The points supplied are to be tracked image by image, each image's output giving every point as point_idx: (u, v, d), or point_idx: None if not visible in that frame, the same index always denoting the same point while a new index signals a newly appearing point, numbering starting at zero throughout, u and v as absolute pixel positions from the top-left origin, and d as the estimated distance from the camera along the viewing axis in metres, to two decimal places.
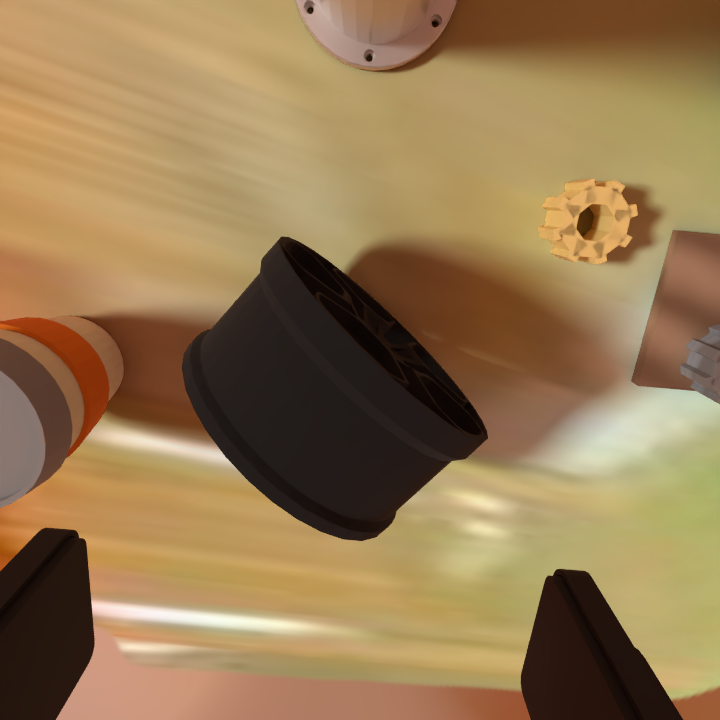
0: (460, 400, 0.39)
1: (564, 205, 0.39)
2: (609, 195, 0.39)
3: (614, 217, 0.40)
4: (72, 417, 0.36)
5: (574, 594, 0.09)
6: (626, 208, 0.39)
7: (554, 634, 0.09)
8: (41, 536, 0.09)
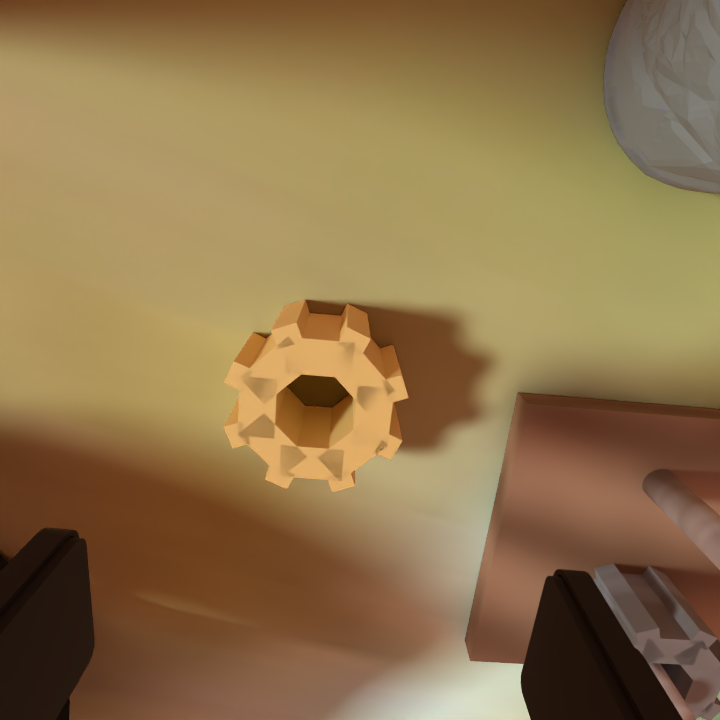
0: None
1: (237, 378, 0.17)
2: (338, 358, 0.17)
3: (357, 401, 0.18)
4: None
5: (574, 594, 0.09)
6: (380, 384, 0.17)
7: (554, 634, 0.09)
8: (41, 536, 0.09)
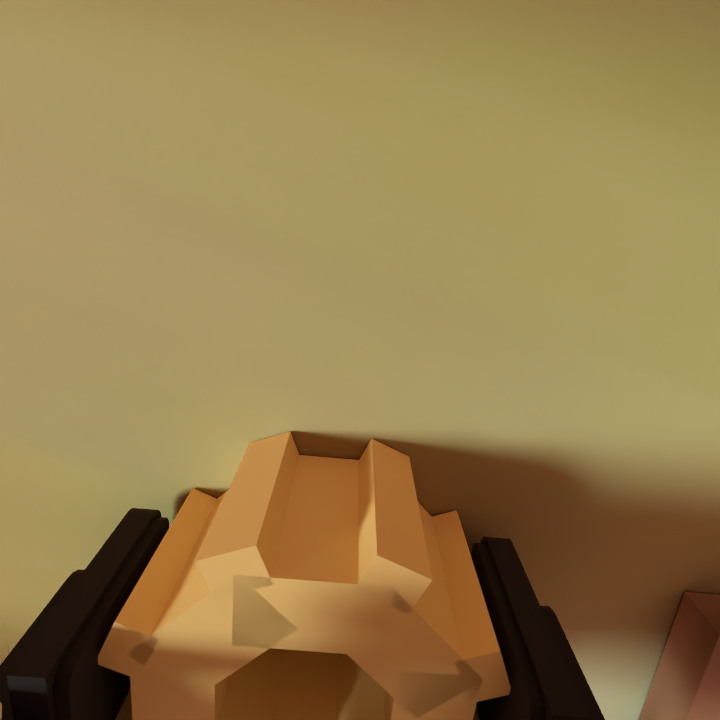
0: None
1: (125, 656, 0.08)
2: (355, 618, 0.07)
3: (397, 695, 0.08)
4: None
5: (493, 558, 0.10)
6: (451, 669, 0.08)
7: None
8: (131, 515, 0.10)
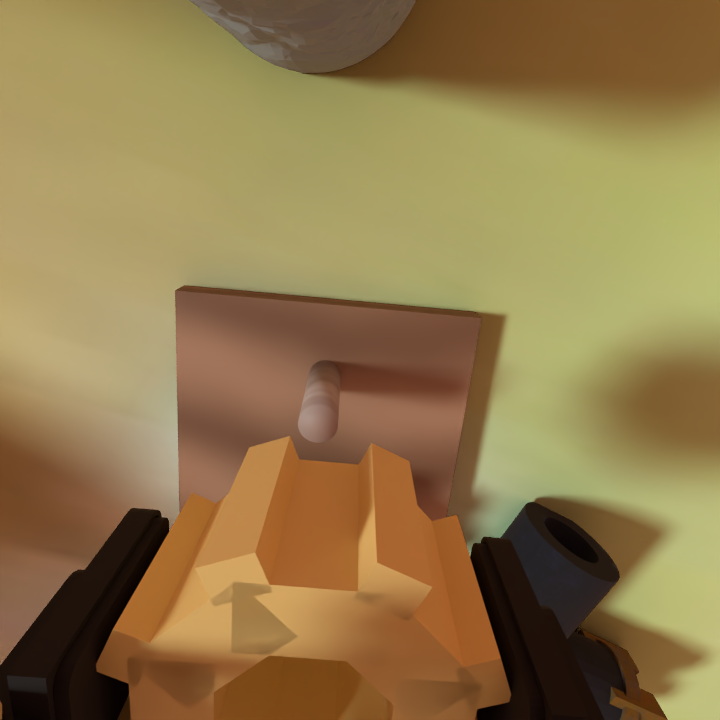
0: None
1: (124, 663, 0.08)
2: (355, 625, 0.07)
3: (397, 703, 0.08)
4: None
5: (493, 558, 0.10)
6: (451, 677, 0.08)
7: None
8: (131, 515, 0.10)
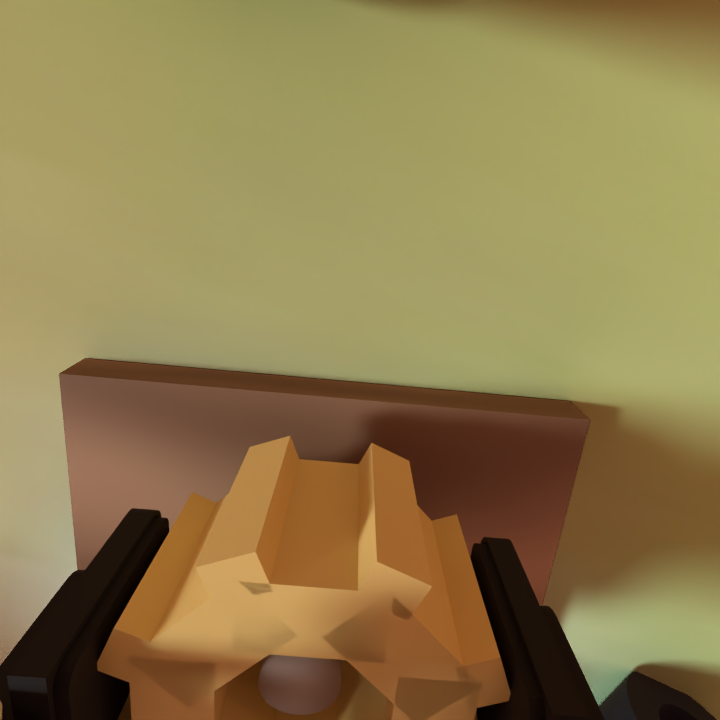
0: None
1: (124, 661, 0.08)
2: (355, 624, 0.07)
3: (397, 701, 0.08)
4: None
5: (493, 558, 0.10)
6: (451, 675, 0.08)
7: None
8: (131, 515, 0.10)
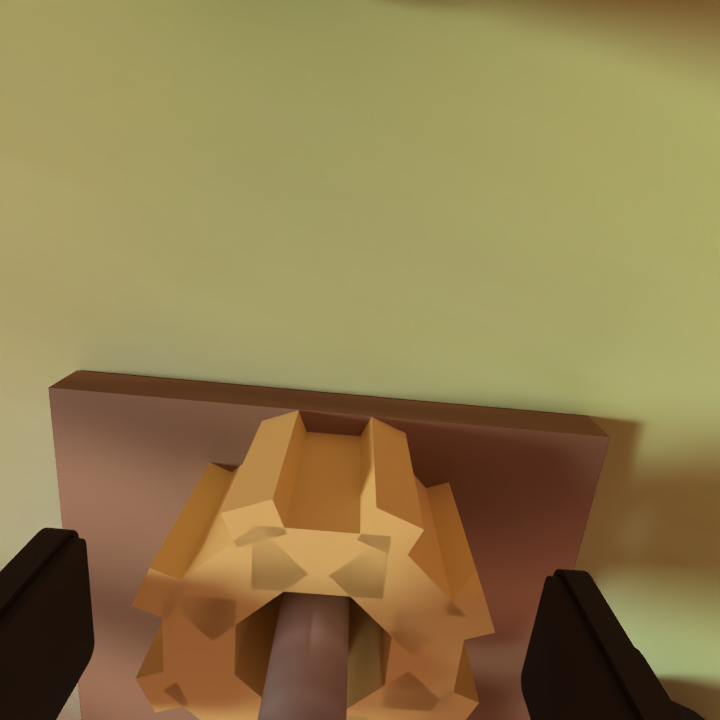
0: None
1: (158, 598, 0.09)
2: (358, 564, 0.09)
3: (394, 635, 0.09)
4: None
5: (574, 594, 0.09)
6: (441, 610, 0.09)
7: (554, 634, 0.09)
8: (41, 536, 0.09)
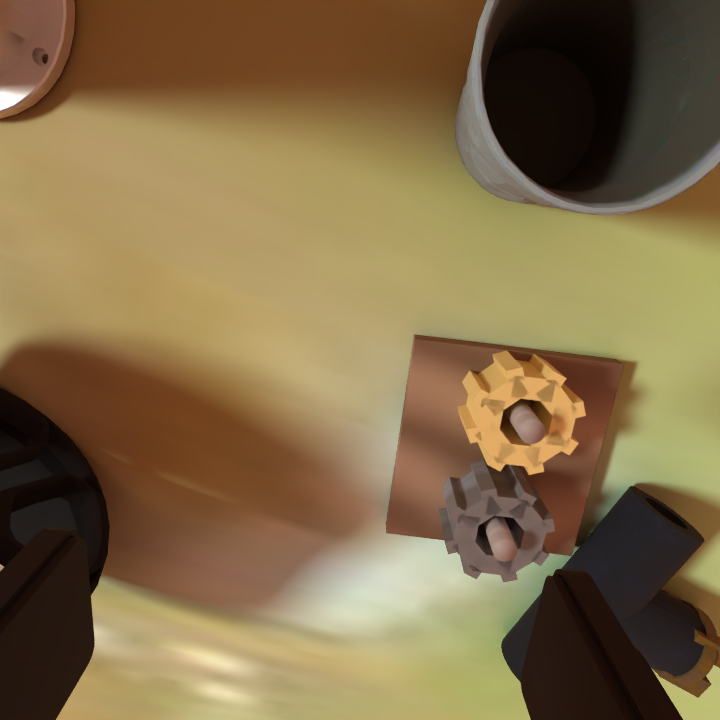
0: None
1: (481, 399, 0.28)
2: (545, 389, 0.28)
3: (553, 416, 0.28)
4: None
5: (574, 594, 0.09)
6: (569, 407, 0.28)
7: (554, 634, 0.09)
8: (41, 536, 0.09)
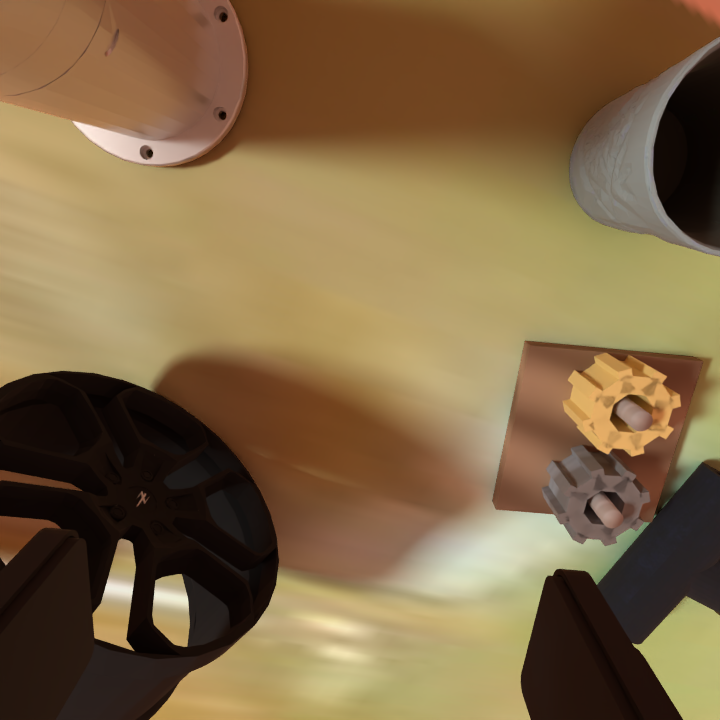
0: (254, 555, 0.33)
1: (595, 396, 0.34)
2: (649, 386, 0.34)
3: (653, 408, 0.34)
4: None
5: (574, 594, 0.09)
6: (667, 399, 0.34)
7: (554, 634, 0.09)
8: (41, 536, 0.09)
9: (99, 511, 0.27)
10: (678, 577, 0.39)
